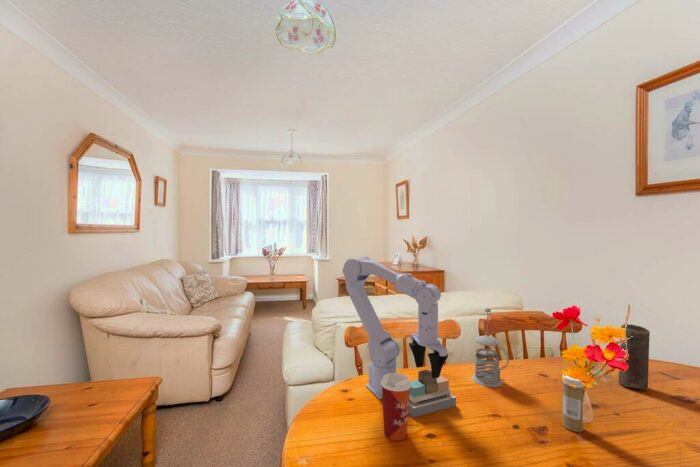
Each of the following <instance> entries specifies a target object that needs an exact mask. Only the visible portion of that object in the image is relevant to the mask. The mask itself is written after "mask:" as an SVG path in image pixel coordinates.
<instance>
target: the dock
mask: <svg viewBox="0 0 700 467" xmlns="http://www.w3.org/2000/svg"><path fill="white" fill-rule="evenodd" d="M456 406H457V397H456V396H455V395H453V394H452V393H450V396H449V397H446V396H445V395H442V396H438V397H434V398H430V399H426V400H422V401H418V405H413V404H412V403H411V402H410V401H409V409H408V415H410V416H411V417H412V418H417V417H420V416H424V415H428V414H432V413H435V412H440V411H443V410H447V409H451V408H454V407H456Z"/></svg>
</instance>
